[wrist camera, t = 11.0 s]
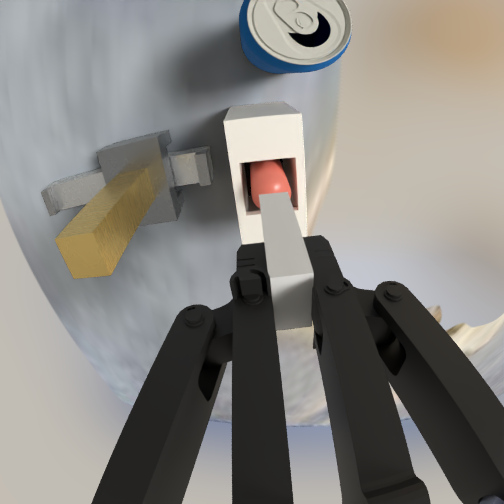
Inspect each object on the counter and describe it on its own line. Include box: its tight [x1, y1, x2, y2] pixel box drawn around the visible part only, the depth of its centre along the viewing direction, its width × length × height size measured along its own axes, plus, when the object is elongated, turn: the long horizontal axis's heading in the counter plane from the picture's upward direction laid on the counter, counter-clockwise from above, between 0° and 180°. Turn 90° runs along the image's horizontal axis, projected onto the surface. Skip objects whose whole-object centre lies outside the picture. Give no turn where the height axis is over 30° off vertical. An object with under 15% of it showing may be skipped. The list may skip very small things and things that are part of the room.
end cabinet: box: [223, 102, 307, 245], centre depth 24 cm, size 10×5×9 cm, turn 7°
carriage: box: [55, 130, 184, 279], centre depth 22 cm, size 8×6×15 cm
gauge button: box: [250, 159, 291, 208], centre depth 22 cm, size 3×3×8 cm
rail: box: [41, 146, 214, 216], centre depth 27 cm, size 3×19×3 cm, turn 97°
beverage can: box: [239, 0, 352, 74], centre depth 16 cm, size 6×6×12 cm
